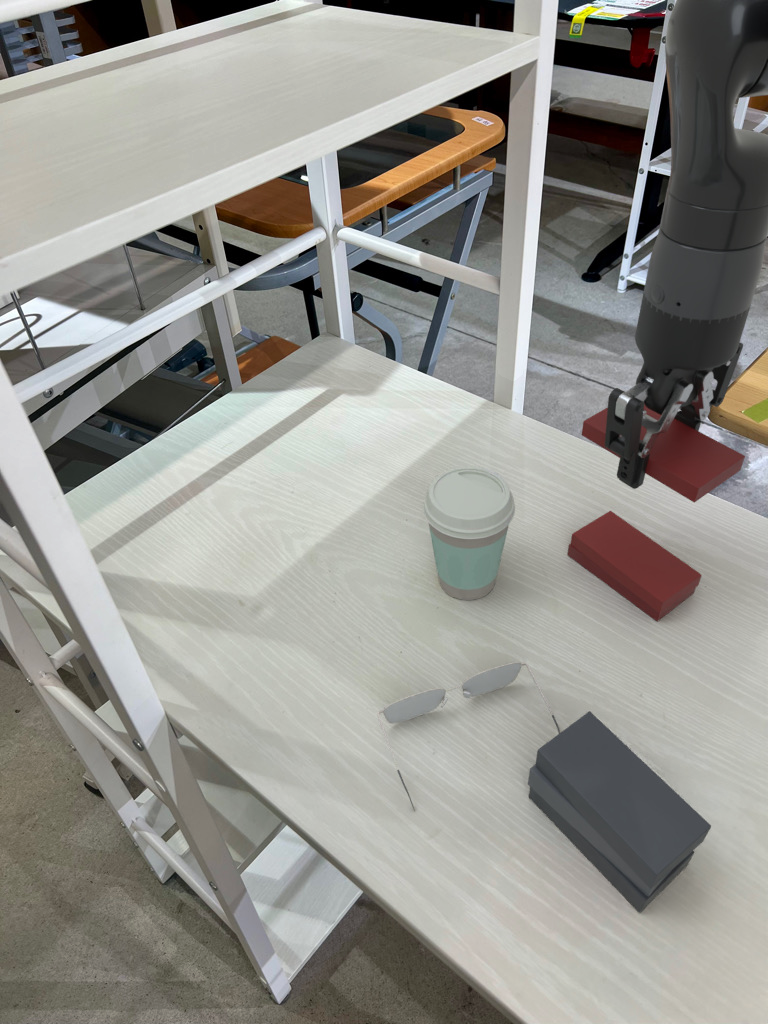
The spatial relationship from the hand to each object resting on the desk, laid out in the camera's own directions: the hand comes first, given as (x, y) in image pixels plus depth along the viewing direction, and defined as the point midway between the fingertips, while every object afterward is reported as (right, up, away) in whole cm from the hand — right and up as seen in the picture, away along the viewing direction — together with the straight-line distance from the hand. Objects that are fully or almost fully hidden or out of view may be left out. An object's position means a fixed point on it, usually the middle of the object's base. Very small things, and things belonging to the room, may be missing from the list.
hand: (654, 465), depth 66 cm
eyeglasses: (-17, -24, -3) cm, 29 cm away
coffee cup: (-15, -11, +11) cm, 22 cm away
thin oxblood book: (0, +1, -1) cm, 2 cm away
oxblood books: (+1, -10, +10) cm, 14 cm away
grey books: (-7, -28, -9) cm, 31 cm away
